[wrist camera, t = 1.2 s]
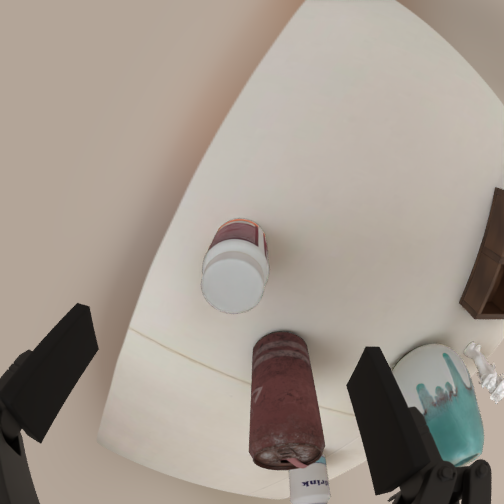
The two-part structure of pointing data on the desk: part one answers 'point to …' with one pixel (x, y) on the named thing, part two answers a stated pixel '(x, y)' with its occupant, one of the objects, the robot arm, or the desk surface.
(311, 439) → the red cylinder
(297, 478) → the beverage can
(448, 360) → the vase
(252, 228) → the pill bottle
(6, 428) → the robot arm
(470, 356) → the flower shoulder figurine
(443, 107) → the desk surface
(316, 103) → the desk surface
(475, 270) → the holder
